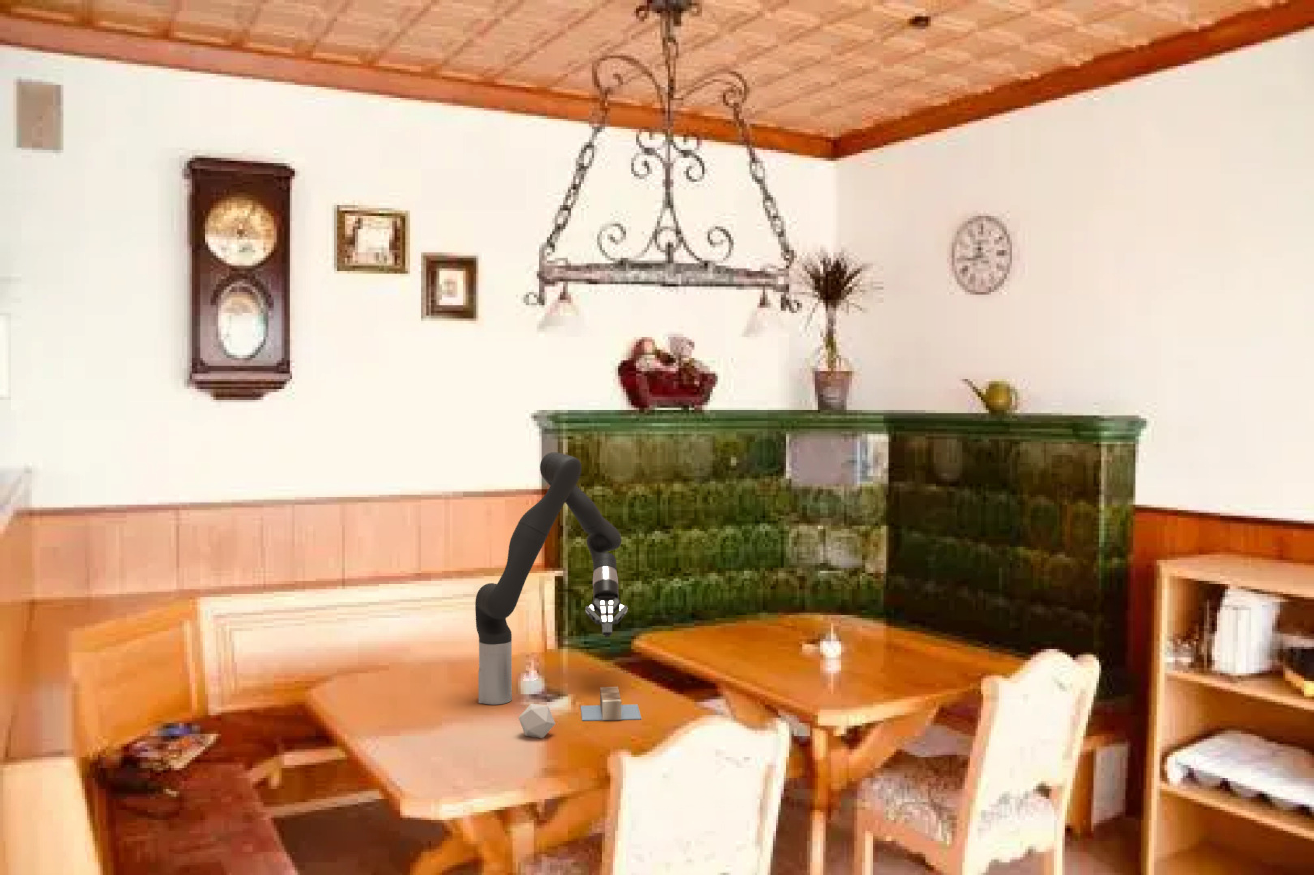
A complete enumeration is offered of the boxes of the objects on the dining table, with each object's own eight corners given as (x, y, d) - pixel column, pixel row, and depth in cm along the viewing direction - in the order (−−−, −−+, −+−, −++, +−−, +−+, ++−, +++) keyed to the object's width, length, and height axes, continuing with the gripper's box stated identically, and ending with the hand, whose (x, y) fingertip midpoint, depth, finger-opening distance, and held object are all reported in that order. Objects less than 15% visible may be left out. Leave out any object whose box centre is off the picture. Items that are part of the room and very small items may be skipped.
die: (560, 735, 296) (548, 701, 300) (555, 728, 288) (543, 693, 292) (530, 747, 295) (519, 713, 299) (524, 741, 287) (513, 705, 292)
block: (600, 704, 320) (602, 719, 306) (600, 687, 320) (602, 701, 306) (617, 704, 320) (621, 719, 307) (617, 686, 320) (621, 701, 306)
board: (582, 721, 306) (582, 719, 306) (580, 706, 319) (580, 705, 319) (641, 719, 308) (641, 718, 308) (637, 705, 320) (637, 704, 320)
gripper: (583, 578, 336) (584, 628, 325) (628, 577, 338) (631, 628, 326) (583, 592, 342) (584, 642, 330) (627, 592, 343) (629, 641, 332)
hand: (607, 635), depth 328 cm, fingers closed
